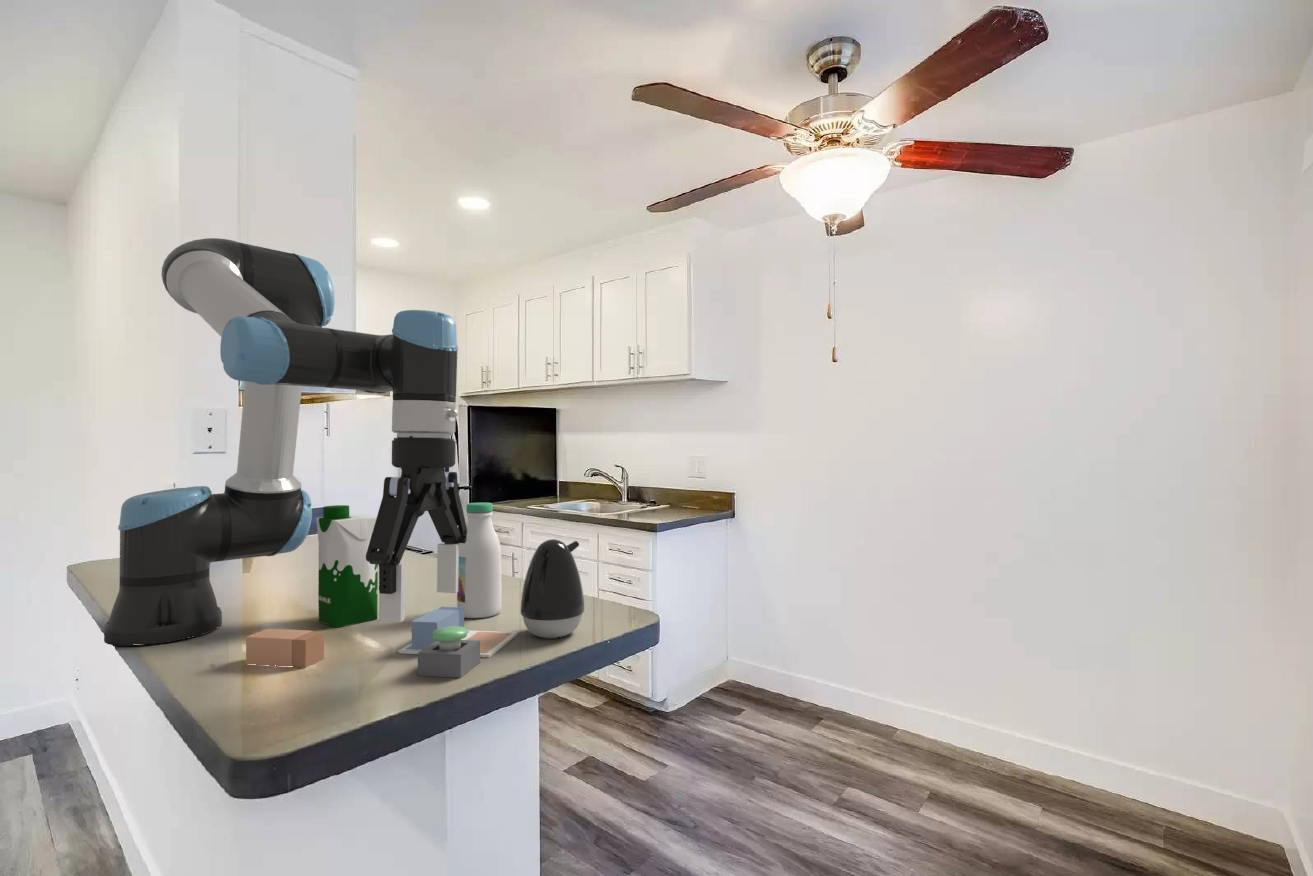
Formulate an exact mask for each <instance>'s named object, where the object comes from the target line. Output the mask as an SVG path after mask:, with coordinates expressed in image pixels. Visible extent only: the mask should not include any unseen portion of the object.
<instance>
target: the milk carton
mask: <svg viewBox="0 0 1313 876" xmlns="http://www.w3.org/2000/svg"><path fill="white" fill-rule="evenodd" d="M322 509H323V511H322V512H323V514H322V515H323V516H322V517H320V516H319V517H316V519H315V520H316V521H315V522H316V528H317V529H316V531H317V539H318V585H317V586H318V595H317V596H318V597H317V599H318V600H317V601H318V622H321V623H324V624H327V625H328V626H331V627H333V628H341V627H346V626H351V625H357V624H361V623H366V622H371V621H373V620H378V605H379V565H378V564H370V563H369V562H368V561H367V560H366V553H367V550H368V546H369V543H370V539H371V536H372V532H373V529H374V525H375V522H376V518H377V516H374V515H369V514H368V515H365V514H354V515H353V514H352V515H351V514H350V505H345V504H344V505H343V504H341V505H325V506H323V507H322Z"/></svg>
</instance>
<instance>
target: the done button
mask: <svg viewBox="0 0 1313 876" xmlns="http://www.w3.org/2000/svg"><path fill="white" fill-rule="evenodd" d="M467 630H468V628H467V627H465V626H464V627H461V626H449V627H443V628H439V629H436V630H434V631H433V640H435V641H439V651H458V650H459V649H460V648H461V639H463V638H465V637H466V636H467Z"/></svg>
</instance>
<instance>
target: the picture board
mask: <svg viewBox="0 0 1313 876" xmlns="http://www.w3.org/2000/svg"><path fill="white" fill-rule="evenodd" d="M517 636H518V632H517V631H513V632H512V631H493V630H491V631H490V630H469V629H467V636H466V637H465V638H463V639H461V640H476V641H480V658H488V659H489V658H491V657H492V656H494V655H495V654H496V653H497V652H498V651H499V650H501V649H502V648H503V647H504V646H506V645H508V643H509V642H510V641H512V640H514V638H516V637H517ZM421 650H423V649H412V642H410V643H408V644H407V645H406V646H404V647H402V648H400V649H398V650H397V652H398V654H404V655H405V654H406V655H418V652H420V651H421Z"/></svg>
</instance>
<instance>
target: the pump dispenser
mask: <svg viewBox="0 0 1313 876" xmlns="http://www.w3.org/2000/svg"><path fill="white" fill-rule="evenodd" d="M579 545H580V543H579V542H578V540H574V541H572V542H571V543H568V545H567V544H565V542H563V541H561V540H559V539H548V540H545V541H543V542H541V544H539V545H538V547H537V548H536V549H535V551H534V553H533V555H532V557H531V559H530V562H529V565H528V567H527V571H526V574H525V578H524V581H523V585H522V591H521V599H520V610H519V611H520V615H521V616H522V619H523V622H524V625H525V627H526V628H527V630H528V631H529V632H530V633H531V634H532V635H534V636H535V637H538V638H542V639H559V638H558V637H560V638H564V637H566V636H568V635H570V634H572V633H573V632H574V631H575V630H576V629H577V628H578V626H579V625H580V623H581V621H582V618H583V614H584V613H585V598H584V590H583V589H584V588H583V585H582V581H581V576H580V572H579V569H578V566H577V562H576V561H575V558H574V556H573V552H574V551H575V550H576V549H577V548H578V547H579ZM563 636H564V637H563Z"/></svg>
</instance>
